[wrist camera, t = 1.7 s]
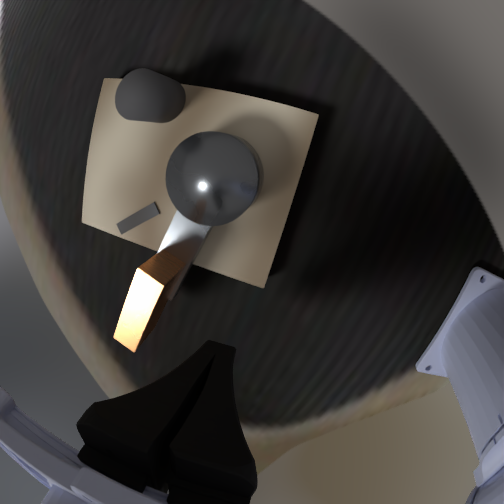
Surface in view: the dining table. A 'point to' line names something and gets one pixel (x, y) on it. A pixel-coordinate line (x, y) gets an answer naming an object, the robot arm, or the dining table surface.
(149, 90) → the post
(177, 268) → the crank
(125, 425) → the robot arm
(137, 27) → the dining table surface
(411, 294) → the dining table surface
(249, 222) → the board
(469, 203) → the dining table surface
